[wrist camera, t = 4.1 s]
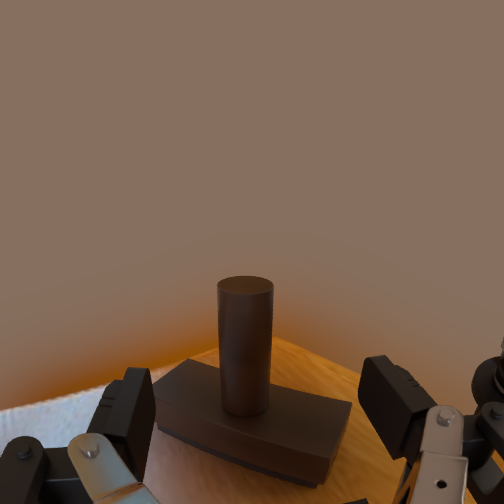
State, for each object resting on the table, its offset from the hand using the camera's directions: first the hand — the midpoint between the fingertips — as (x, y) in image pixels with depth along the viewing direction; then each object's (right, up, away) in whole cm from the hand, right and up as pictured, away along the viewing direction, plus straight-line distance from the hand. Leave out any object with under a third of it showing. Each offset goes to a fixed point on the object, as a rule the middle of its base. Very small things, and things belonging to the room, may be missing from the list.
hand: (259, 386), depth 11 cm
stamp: (-1, -7, +8) cm, 11 cm away
